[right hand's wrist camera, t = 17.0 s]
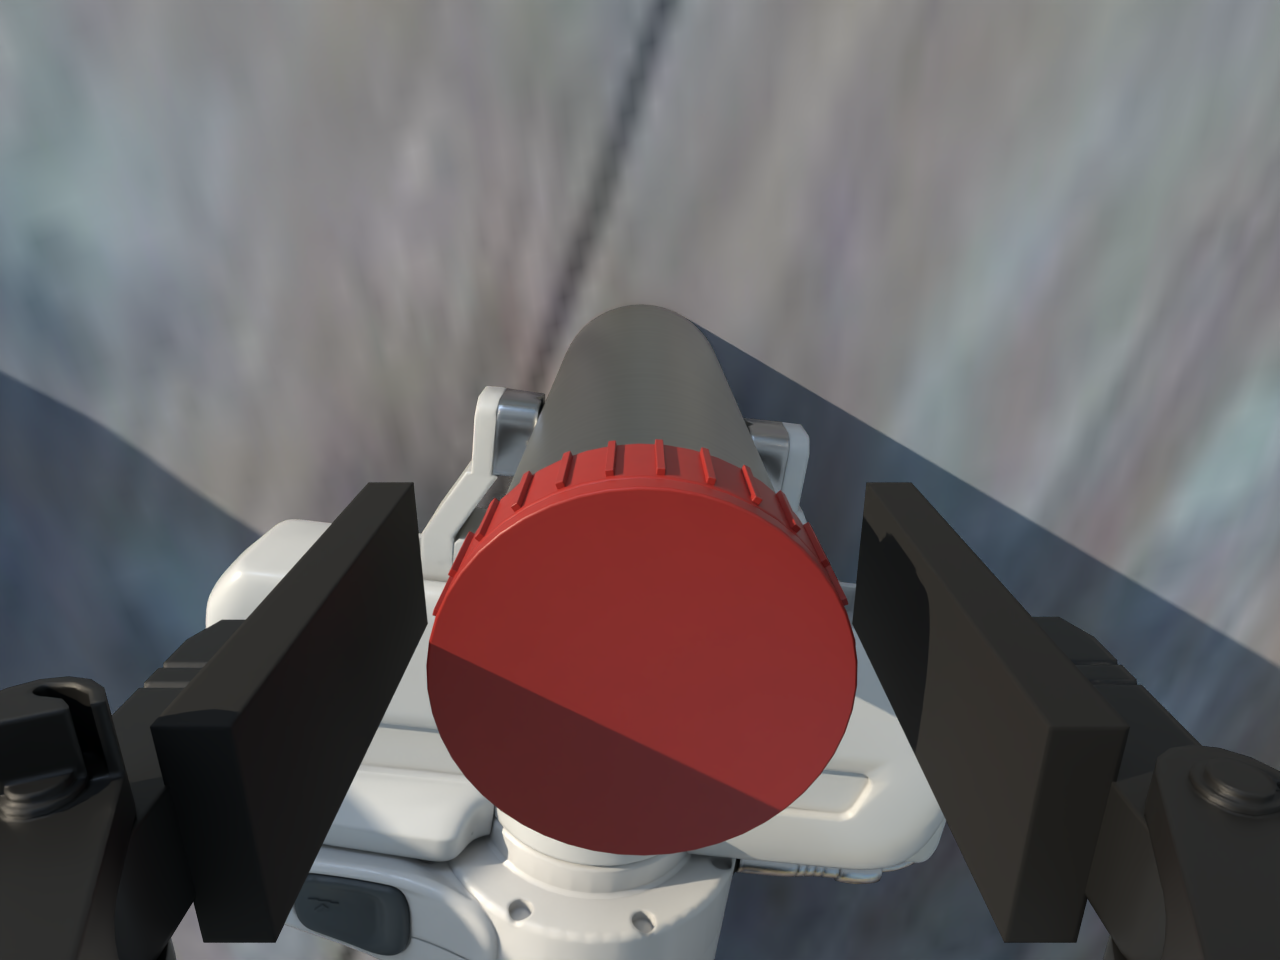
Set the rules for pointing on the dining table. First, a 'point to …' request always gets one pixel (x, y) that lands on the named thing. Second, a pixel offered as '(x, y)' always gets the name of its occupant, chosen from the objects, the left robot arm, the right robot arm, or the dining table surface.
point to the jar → (640, 393)
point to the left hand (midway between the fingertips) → (643, 409)
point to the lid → (641, 652)
